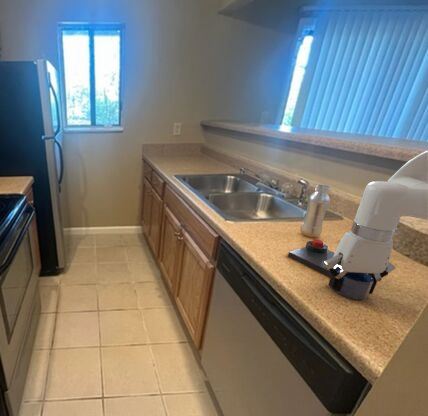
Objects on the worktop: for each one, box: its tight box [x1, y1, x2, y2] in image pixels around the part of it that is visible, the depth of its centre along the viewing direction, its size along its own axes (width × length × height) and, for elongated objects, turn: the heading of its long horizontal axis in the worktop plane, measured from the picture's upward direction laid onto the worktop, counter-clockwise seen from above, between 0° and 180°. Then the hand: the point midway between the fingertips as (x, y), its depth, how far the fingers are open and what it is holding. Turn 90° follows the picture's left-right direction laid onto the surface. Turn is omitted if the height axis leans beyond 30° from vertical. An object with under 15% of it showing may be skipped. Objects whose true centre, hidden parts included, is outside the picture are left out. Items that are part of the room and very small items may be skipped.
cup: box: [337, 269, 374, 300], centre depth 74 cm, size 7×7×6 cm
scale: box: [287, 240, 337, 278], centre depth 87 cm, size 16×13×4 cm
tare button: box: [312, 238, 324, 247], centre depth 92 cm, size 3×3×2 cm
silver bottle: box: [300, 184, 331, 238], centre depth 103 cm, size 6×7×20 cm
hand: (349, 289), depth 75 cm, fingers closed on cup, 7 cm apart
